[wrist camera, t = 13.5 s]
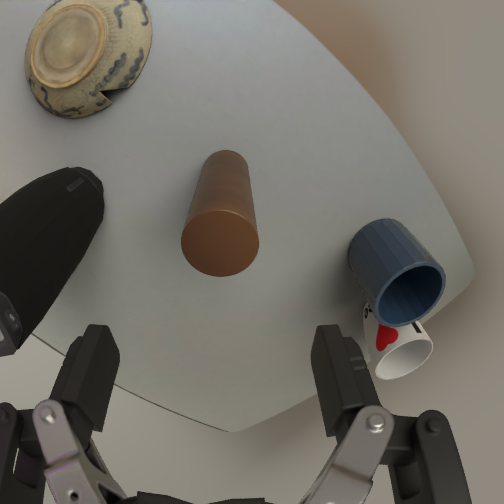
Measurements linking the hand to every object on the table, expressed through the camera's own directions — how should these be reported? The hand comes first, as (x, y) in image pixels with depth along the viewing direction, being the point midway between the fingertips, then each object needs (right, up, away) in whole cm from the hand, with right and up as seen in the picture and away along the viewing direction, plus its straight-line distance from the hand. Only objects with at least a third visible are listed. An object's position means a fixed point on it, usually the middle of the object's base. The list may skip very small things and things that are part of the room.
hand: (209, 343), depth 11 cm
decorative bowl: (-15, +23, +9) cm, 29 cm away
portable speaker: (-18, +9, +18) cm, 27 cm away
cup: (+20, -4, +29) cm, 35 cm away
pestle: (-1, +11, +18) cm, 21 cm away
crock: (+17, +4, +24) cm, 30 cm away
